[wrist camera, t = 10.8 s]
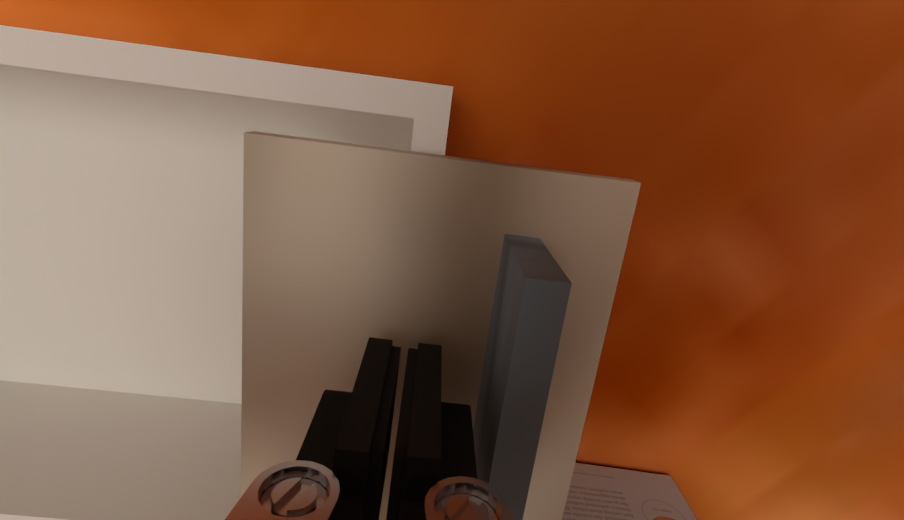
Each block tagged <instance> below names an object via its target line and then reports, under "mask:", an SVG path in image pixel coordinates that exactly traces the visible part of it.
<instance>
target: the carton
mask: <svg viewBox="0 0 904 520" xmlns="http://www.w3.org/2000/svg"><path fill="white" fill-rule="evenodd" d="M452 93H453V86H446V85H439V84H431V83H424V82H417V81H409V80H402V79H394V78H387V77H380V76H372V75H365V74H358V73H350V72H343V71H335V70H328V69H321V68H313V67H306V66H298V65H291V64H284V63H276V62H269V61H262V60H254V59H247V58H239V57H232V56H225V55H217V54H210V53H202V52H195V51H188V50H180V49H173V48H165V47H158V46H151V45H143V44H136V43H129V42H121V41H114V40H106V39H99V38H92V37H84V36H77V35H69V34H62V33H55V32H47V31H40V30H33V29H25V28H18V27H10V26H3V25H0V520H225V519H226V517H227V516H228V515H229V513H230V512H231V510H232V509H233V508H234V506H235V505H236V504H237V502H238V501H239V499H240V498H241V405H242V288H243V171H244V133H245V132H251V131H257V132H265V133H273V134H281V135H289V136H297V137H304V138H312V139H320V140H328V141H336V142H344V143H351V144H359V145H367V146H375V147H383V148H391V149H398V150H406V151H414V152H422V153H430V154H438V155H445V150H446V142H447V134H448V126H449V117H450V109H451V101H452Z"/></svg>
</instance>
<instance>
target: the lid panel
mask: <svg viewBox="0 0 904 520" xmlns="http://www.w3.org/2000/svg"><path fill="white" fill-rule="evenodd" d="M640 186H641V183H639V182H637V181H635V180H632V179H626V178H618V177H610V176H602V175H594V174H586V173H579V172H571V171H563V170H555V169H547V168H539V167H532V166H524V165H516V164H508V163H500V162H492V161H485V160H477V159H469V158H461V157H453V156H445V155H438V154H430V153H422V152H414V151H406V150H398V149H391V148H383V147H375V146H367V145H359V144H351V143H344V142H336V141H328V140H320V139H312V138H304V137H297V136H289V135H281V134H273V133H265V132H257V131H251V132H245V133H244V171H243V288H242V405H241V497H242V495H243V494H244V493H245V491H246V490H247V488H248V487H249V486H250V484H251V483H252V482H253V480H254V479H255V478H256V477H257V476H258V475H259V474H260V473H261V472H263V471H265V470H267V469H268V468H270V467H272V466H274V465H277V464H280V463H283V462H287V461H296V458H297V456H298V453H299V451H300V448H301V446H302V444H303V441H304V439H305V436H306V434H307V431H308V429H309V426H310V424H311V421H312V419H313V417H314V414H315V412H316V409H317V407H318V404H319V402H320V399H321V397H322V394H323V392H324V390H326V389H327V390H337V391H346V392H352V391H353V388H354V385H355V381H356V378H357V375H358V372H359V368H360V365H361V362H362V359H363V355H364V352H365V349H366V346H367V342H368V339H369V337H372V338H381V339H389V340H393V344H392V346H396V347H401V353H400V362H399V370H398V379H397V387H396V396H395V404H394V413H393V422H392V430H391V439H390V447H389V455H388V462H387V469H386V475H385V482H384V489H383V495H382V502H381V508H380V515H379V520H386V516H387V508H388V499H389V491H390V483H391V475H392V466H393V458H394V451H395V443H396V436H397V428H398V421H399V414H400V406H401V399H402V392H403V385H404V377H405V370H406V363H407V355H408V348H414V349H418V343H425V344H433V345H441V346H442V372H441V402H448V403H457V404H467V405H470V407H471V415H472V426H473V437H474V448H475V459H476V469H477V479H479V480H482V481H485V482H486V483H488V484H490V485H491V486H493V487H495V488H496V489H497V490H498V491H499V492H500V493H501V494H502V495H503V496H504V498H505V499H506V501H507V503H508V505H509V507H510V510H511V513H512V515H513V518H514V520H562V517H563V512H564V508H565V504H566V500H567V496H568V491H569V487H570V483H571V479H572V474H573V470H574V466H575V462H576V457H577V453H578V449H579V445H580V440H581V436H582V432H583V428H584V423H585V419H586V415H587V411H588V407H589V402H590V398H591V394H592V390H593V385H594V381H595V377H596V373H597V368H598V364H599V360H600V356H601V351H602V347H603V343H604V339H605V334H606V330H607V326H608V322H609V318H610V313H611V309H612V305H613V301H614V296H615V292H616V288H617V284H618V279H619V275H620V271H621V267H622V262H623V258H624V254H625V250H626V246H627V241H628V237H629V233H630V229H631V224H632V220H633V216H634V212H635V207H636V203H637V199H638V195H639V190H640Z"/></svg>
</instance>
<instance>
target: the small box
mask: <svg viewBox="0 0 904 520" xmlns="http://www.w3.org/2000/svg"><path fill="white" fill-rule="evenodd" d="M562 520H698V519H697V518H696V516H695V514H694V513H693V511H692V510H691V508H690V506H689V505H688V503H687V502H686V500H685V498H684V497H683V495H682V493H681V492H680V490H679V488H678V487H677V485H676V483H675V482H674V480H673V479H672V477H671V476H669V475H663V474H654V473H647V472H640V471H632V470H625V469H618V468H611V467H603V466H596V465H589V464H581V463H575V466H574V470H573V474H572V479H571V483H570V487H569V491H568V496H567V500H566V504H565V508H564V512H563V517H562Z"/></svg>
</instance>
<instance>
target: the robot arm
mask: <svg viewBox="0 0 904 520" xmlns="http://www.w3.org/2000/svg"><path fill="white" fill-rule="evenodd" d="M392 344H393V340H389V339H381V338H372V337H369V339H368V342H367V346H366V349H365V352H364V355H363V359H362V362H361V365H360V368H359V372H358V375H357V378H356V381H355V385H354V388H353V391H352V392H346V391H337V390H327V389H326V390H324V392H323V394H322V397H321V399H320V402H319V404H318V407H317V409H316V412H315V414H314V417H313V419H312V421H311V424H310V426H309V429H308V431H307V434H306V436H305V439H304V441H303V444H302V446H301V448H300V451H299V453H298V456H297V458H296V461H287V462H283V463H280V464H277V465H274V466H272V467H270V468H268V469H267V470H265V471H263V472H261V473H260V474H259V475H258V476H257V477H256V478H255V479H254V480H253V482H252V483H251V484H250V486H249V487H248V488H247V490H246V491H245V493H244V494H243V495H242V497H241V498H240V499H239V501H238V502H237V504H236V505H235V506H234V508H233V509H232V510H231V512H230V513H229V515H228V516H227V517H226V519H225V520H379V515H380V508H381V502H382V495H383V489H384V482H385V475H386V469H387V462H388V455H389V447H390V439H391V430H392V422H393V413H394V404H395V396H396V387H397V379H398V370H399V362H400V353H401V347H396V346H392ZM441 372H442V346H441V345H433V344H425V343H418V349H414V348H408V355H407V363H406V370H405V377H404V385H403V392H402V399H401V406H400V414H399V421H398V428H397V436H396V443H395V451H394V458H393V466H392V475H391V483H390V491H389V499H388V508H387V516H386V520H514V518H513V515H512V513H511V510H510V507H509V505H508V503H507V501H506V499H505V498H504V496H503V495H502V494H501V493H500V492H499V491H498V490H497V489H496V488H495V487H493V486H491V485H490V484H488V483H486V482H485V481H482V480H479V479H477V469H476V459H475V448H474V437H473V426H472V415H471V407H470V405H467V404H457V403H448V402H441Z"/></svg>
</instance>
